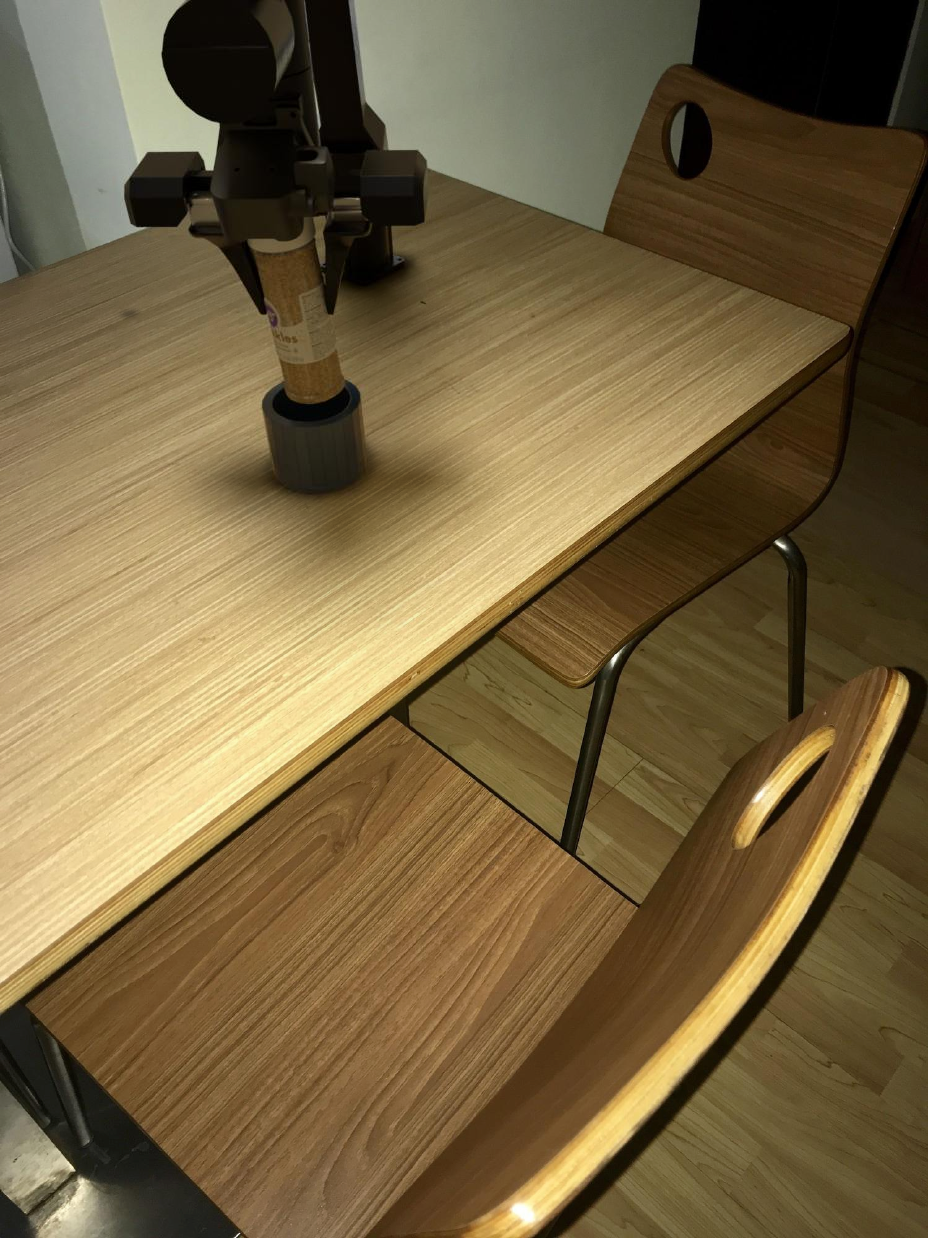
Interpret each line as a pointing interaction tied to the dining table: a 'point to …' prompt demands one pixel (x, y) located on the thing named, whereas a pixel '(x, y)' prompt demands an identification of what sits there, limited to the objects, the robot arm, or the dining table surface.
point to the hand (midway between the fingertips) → (297, 312)
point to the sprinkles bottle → (299, 315)
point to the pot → (316, 440)
